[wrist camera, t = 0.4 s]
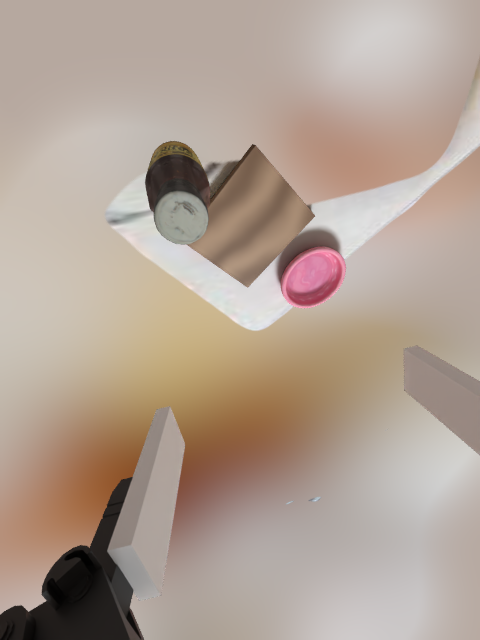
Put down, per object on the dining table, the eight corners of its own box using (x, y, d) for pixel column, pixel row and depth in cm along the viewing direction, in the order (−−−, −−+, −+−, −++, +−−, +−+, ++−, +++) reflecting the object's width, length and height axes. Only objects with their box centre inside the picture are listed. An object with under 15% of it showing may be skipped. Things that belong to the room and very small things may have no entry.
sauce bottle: (186, 130, 32) (212, 149, 17) (207, 183, 36) (242, 236, 21) (138, 153, 32) (121, 191, 17) (164, 202, 36) (168, 268, 21)
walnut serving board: (181, 237, 40) (182, 241, 39) (252, 144, 34) (255, 145, 33) (245, 283, 48) (247, 287, 46) (311, 213, 42) (315, 215, 41)
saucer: (264, 275, 48) (269, 284, 45) (319, 227, 44) (328, 233, 42) (297, 309, 55) (304, 318, 53) (347, 270, 52) (356, 278, 50)
